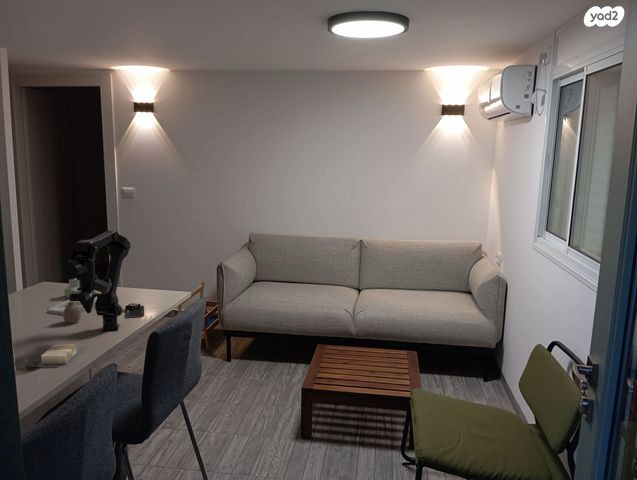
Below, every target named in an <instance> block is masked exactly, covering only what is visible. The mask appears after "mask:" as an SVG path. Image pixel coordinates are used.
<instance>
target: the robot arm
mask: <svg viewBox="0 0 637 480" xmlns="http://www.w3.org/2000/svg"><path fill="white" fill-rule="evenodd" d="M105 246H106V247H107V252H108V255H109V257H110V258H109V263H108V268H107V272H106V276H105V279H99V275H98V274H96V267H95V266H96V263H95V261H97V260H98V258H97V257H96V255H97V254H98V253H99V249H101V248H104V247H105ZM130 249H131V241H129V240H128V238H127V237H126V236H123V235H121V234H119V232H118V231H116V230H105V231H103V233H101V234H99V235H97V236H95V237H92V238H91V239H83V240H78V241H76V242H75V243H74V246H73V249H72V251H71V254H70V256H69V260H68V261H67V265H65V266H64V267H63V271H62V274H63V276H64V277H65V279H67V280H69V279H70V280H73V279H76V278H77V280H79V288H77V291H75V292H73V293H72V294H70V295H69V297H68V300H69V301H80V303H81V304H82V306H83V307H84V309H85V310H86V311H85V312H86V314H91V312H92V310H93V309H92V306H93V302H94V299H95V298H96V297H97V300H96V302H95V309H94V310H95V312H96V315H97V317H98V316H101V317H102V327H101V330H100V331H101V332H113V331H118V330H119V328H120V324H119V323H118V317H120V316H121V315H122V313H123V307H122V306H121V305H120V304H119V297H118V295H117V289H118V284H119V279H120V275H121V274H120V273H121V269H122V264H123V260H124V259H126V258H127V256H128V255H129V252H130ZM96 291H97V292H96ZM98 292H100V293H98Z"/></svg>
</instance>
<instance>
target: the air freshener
mask: <svg viewBox="0 0 637 480" xmlns="http://www.w3.org/2000/svg"><path fill="white" fill-rule="evenodd" d="M68 283H69V285H68V286H66V288H65V289H64V291H63V292H64V295H65V296H66V297H67V298H69V295H70V294H72V293H73V292H75V291H77V288H79V280H77V278H76V279H73V280H70V279H68Z"/></svg>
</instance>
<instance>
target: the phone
mask: <svg viewBox="0 0 637 480" xmlns="http://www.w3.org/2000/svg"><path fill="white" fill-rule="evenodd" d="M139 306H140V309H138V310H134V311H130V310H127V309H126V313H125V319H135V318H144V317H145V306H144V305H139Z"/></svg>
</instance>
